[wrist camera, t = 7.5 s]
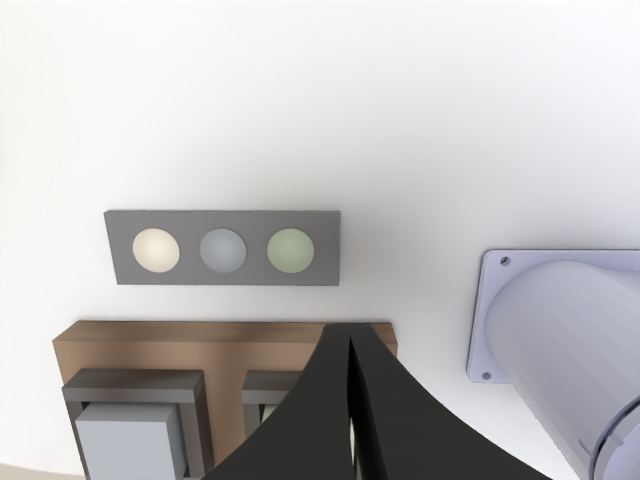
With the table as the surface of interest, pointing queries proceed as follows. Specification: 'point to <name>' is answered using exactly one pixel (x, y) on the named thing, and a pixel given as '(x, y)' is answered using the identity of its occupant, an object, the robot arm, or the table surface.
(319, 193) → the table surface
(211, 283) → the card
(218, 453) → the keypad
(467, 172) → the table surface
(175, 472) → the key slate
